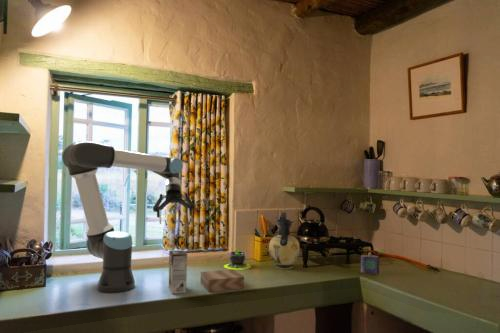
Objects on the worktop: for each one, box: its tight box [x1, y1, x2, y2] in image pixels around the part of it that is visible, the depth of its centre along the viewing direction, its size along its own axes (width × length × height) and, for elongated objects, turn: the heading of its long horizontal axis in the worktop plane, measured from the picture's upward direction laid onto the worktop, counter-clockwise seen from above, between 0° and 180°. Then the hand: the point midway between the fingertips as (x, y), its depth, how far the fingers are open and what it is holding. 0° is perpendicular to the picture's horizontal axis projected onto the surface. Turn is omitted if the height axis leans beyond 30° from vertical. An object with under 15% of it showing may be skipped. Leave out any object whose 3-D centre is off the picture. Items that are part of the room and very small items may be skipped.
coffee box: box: [168, 249, 188, 295], centre depth 152 cm, size 9×6×16 cm
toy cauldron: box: [223, 248, 252, 271], centre depth 196 cm, size 15×15×11 cm
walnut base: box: [200, 269, 245, 293], centre depth 159 cm, size 16×14×5 cm
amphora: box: [268, 211, 301, 270], centre depth 196 cm, size 18×17×30 cm
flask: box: [360, 252, 380, 275], centre depth 186 cm, size 9×3×11 cm, turn 79°
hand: (174, 221), depth 170 cm, fingers open, 13 cm apart
